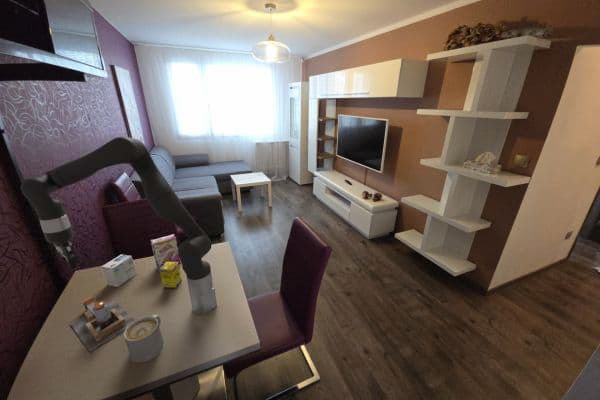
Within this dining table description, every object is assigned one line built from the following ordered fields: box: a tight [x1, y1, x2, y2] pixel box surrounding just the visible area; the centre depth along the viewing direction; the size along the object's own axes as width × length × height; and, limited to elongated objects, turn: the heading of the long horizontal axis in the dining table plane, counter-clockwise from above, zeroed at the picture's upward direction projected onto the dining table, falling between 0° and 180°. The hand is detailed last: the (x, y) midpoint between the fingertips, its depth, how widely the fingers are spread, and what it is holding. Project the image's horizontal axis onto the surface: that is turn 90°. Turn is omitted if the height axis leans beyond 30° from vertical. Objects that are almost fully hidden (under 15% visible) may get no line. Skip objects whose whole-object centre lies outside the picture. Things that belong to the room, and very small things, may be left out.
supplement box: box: [159, 262, 182, 290], centre depth 116 cm, size 6×6×11 cm
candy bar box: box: [150, 233, 182, 272], centre depth 129 cm, size 11×5×16 cm, turn 130°
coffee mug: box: [123, 314, 164, 364], centre depth 87 cm, size 13×10×10 cm
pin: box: [81, 295, 96, 319], centre depth 100 cm, size 11×3×4 cm, turn 56°
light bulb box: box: [101, 254, 137, 288], centre depth 119 cm, size 11×7×11 cm, turn 165°
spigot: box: [93, 300, 114, 331], centre depth 93 cm, size 4×4×11 cm
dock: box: [70, 300, 136, 352], centre depth 96 cm, size 20×15×4 cm
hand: (70, 263), depth 97 cm, fingers open, 8 cm apart
